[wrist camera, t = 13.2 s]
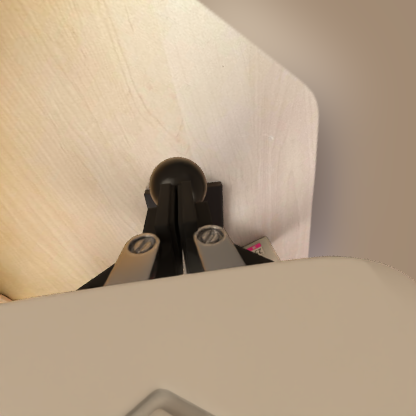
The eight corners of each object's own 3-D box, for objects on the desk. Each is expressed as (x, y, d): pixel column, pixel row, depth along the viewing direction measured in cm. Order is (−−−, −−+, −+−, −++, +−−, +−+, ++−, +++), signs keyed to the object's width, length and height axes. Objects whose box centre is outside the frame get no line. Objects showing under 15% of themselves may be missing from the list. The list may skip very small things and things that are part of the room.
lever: (147, 153, 14) (138, 171, 11) (201, 148, 14) (208, 164, 11) (176, 288, 20) (175, 324, 17) (212, 282, 20) (218, 316, 17)
